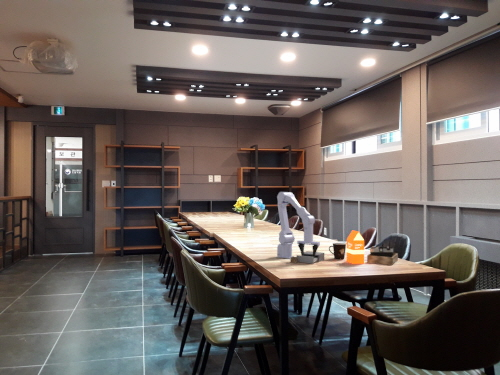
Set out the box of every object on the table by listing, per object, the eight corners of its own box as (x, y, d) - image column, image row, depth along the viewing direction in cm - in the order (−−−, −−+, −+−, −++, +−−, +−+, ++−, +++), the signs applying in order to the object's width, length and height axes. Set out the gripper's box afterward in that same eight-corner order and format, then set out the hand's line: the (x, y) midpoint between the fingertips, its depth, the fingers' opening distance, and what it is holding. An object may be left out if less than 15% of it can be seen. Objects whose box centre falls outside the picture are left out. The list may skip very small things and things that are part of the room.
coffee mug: (344, 257, 256) (345, 243, 256) (346, 260, 247) (347, 244, 247) (327, 257, 257) (327, 242, 257) (328, 259, 248) (328, 244, 248)
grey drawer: (296, 261, 238) (296, 255, 238) (302, 259, 246) (302, 253, 246) (313, 263, 232) (313, 257, 232) (319, 261, 241) (319, 254, 241)
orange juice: (352, 264, 234) (353, 231, 234) (346, 261, 242) (346, 230, 243) (364, 263, 235) (364, 231, 236) (357, 261, 244) (357, 230, 244)
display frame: (367, 262, 240) (367, 255, 240) (374, 258, 256) (374, 251, 256) (392, 265, 232) (392, 257, 232) (397, 260, 248) (397, 253, 248)
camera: (388, 262, 248) (387, 246, 250) (395, 262, 238) (394, 246, 240) (366, 262, 248) (365, 246, 250) (372, 262, 237) (371, 246, 239)
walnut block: (290, 262, 235) (290, 257, 235) (292, 262, 237) (292, 256, 238) (295, 263, 233) (295, 257, 233) (297, 262, 236) (297, 257, 236)
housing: (301, 259, 246) (301, 253, 246) (307, 257, 254) (307, 251, 254) (319, 261, 240) (319, 254, 240) (324, 259, 248) (324, 252, 248)
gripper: (295, 234, 240) (295, 255, 240) (317, 236, 233) (316, 258, 233) (299, 233, 246) (299, 254, 246) (321, 234, 239) (320, 256, 239)
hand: (308, 256), depth 240 cm, fingers open, 7 cm apart
